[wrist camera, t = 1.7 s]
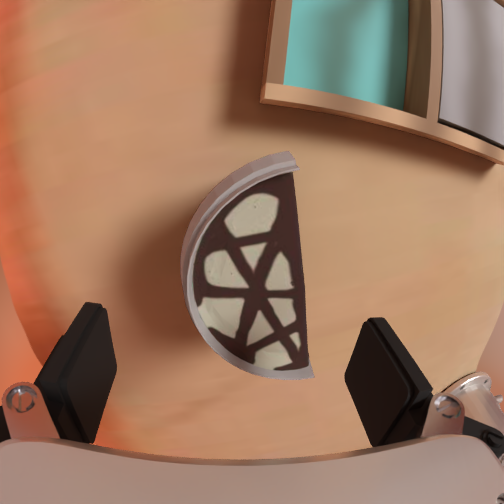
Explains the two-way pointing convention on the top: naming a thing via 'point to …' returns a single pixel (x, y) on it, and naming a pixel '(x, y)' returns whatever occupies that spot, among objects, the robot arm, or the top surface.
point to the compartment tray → (394, 66)
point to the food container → (250, 271)
